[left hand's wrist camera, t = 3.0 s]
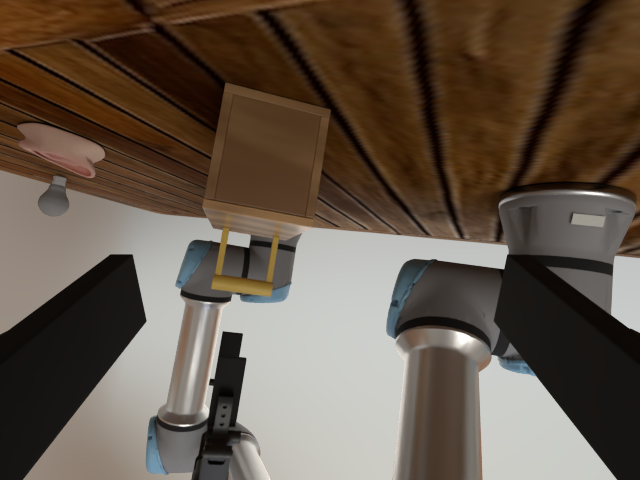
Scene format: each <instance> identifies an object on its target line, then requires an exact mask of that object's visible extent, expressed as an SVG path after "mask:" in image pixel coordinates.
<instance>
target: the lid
mask: <svg viewBox="0 0 640 480" xmlns="http://www.w3.org/2000/svg"><path fill="white" fill-rule="evenodd" d="M202 208H203V210H204V212H205V213H206V215H207V217H208V219H209V221H210V223H211V225H212V227H213V228H215V229H221V230H223V232H222V238H221V243H220V249H219V254H218V260H217V266H216V271H215V274H214V275H213V279H212V285H211V289H216V290H223V291H231V292H238V293H246V294H253V295H261V296H268V297H271V294H272V289H273V282H272V279H273V272H274V266H275V260H276V254H277V248H278V241H279V240H285V241H286V240H288V239H290V238H292V237H294V236H296V235H298V234H300V233H303V232H305V231H307V230H309V229H311V228H313V223H314V219H311V218H305V217H300V216H294V215H289V214H284V213H278V212H273V211H268V210H262V209H257V208H252V207H246V206H241V205H236V204H230V203H225V202H219V201H214V200H209V199H204V201H203V206H202ZM229 231H232V232H238V233H244V234H250V235H256V236H262V237H268V238H273V240H272V247H271V253H270V259H269V265H268V271H267V277H266V281H262V280H255V279H248V278H241V277H234V276H227V275H221V273H222V267H223V262H224V256H225V251H226V245H227V239H228V234H229Z"/></svg>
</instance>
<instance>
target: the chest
mask: <svg viewBox="0 0 640 480" xmlns="http://www.w3.org/2000/svg"><path fill="white" fill-rule="evenodd" d="M330 112H331V110H330V109H326V108H323V107H319V106H315V105H311V104H307V103H303V102H300V101H296V100H292V99H288V98H284V97H280V96H276V95H273V94H269V93H265V92H261V91H257V90H253V89H249V88H246V87H242V86H238V85H234V84H230V83H225V88H224V94H223V99H222V104H221V110H220V115H219V120H218V126H217V131H216V136H215V142H214V147H213V153H212V158H211V163H210V169H209V174H208V179H207V185H206V190H205V195H204V198H205V199H209V200H214V201H219V202H225V203H230V204H236V205H241V206H246V207H252V208H257V209H262V210H268V211H273V212H278V213H284V214H289V215H294V216H300V217H305V218H311V219H314V217H315V210H316V203H317V197H318V190H319V184H320V177H321V170H322V164H323V157H324V151H325V144H326V138H327V131H328V124H329V118H330Z"/></svg>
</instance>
